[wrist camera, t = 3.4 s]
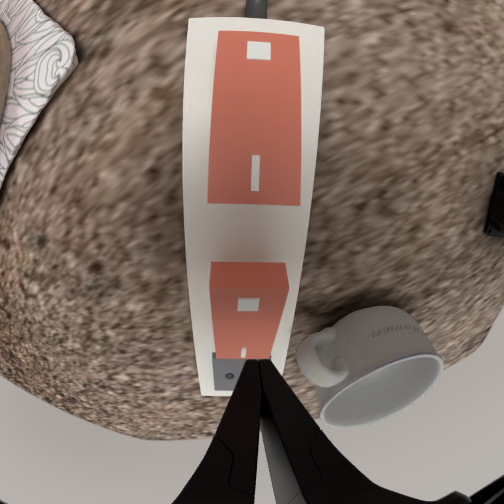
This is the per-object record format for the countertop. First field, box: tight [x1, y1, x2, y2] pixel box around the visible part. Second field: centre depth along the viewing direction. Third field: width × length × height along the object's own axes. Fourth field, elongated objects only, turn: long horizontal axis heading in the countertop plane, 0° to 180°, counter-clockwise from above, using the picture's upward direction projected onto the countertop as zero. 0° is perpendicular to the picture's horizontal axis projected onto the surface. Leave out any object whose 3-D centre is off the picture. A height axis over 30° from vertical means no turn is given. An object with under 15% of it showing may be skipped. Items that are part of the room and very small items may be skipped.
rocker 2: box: [209, 261, 289, 359], centre depth 16 cm, size 4×8×2 cm, turn 177°
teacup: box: [296, 306, 444, 429], centre depth 20 cm, size 14×11×8 cm
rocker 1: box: [207, 31, 301, 206], centre depth 11 cm, size 4×8×2 cm, turn 177°
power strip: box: [182, 0, 324, 396], centre depth 16 cm, size 7×34×4 cm, turn 177°
